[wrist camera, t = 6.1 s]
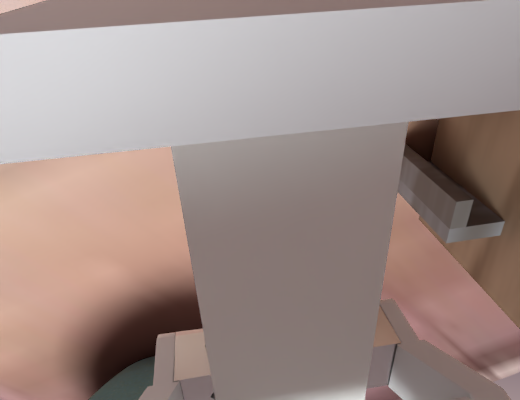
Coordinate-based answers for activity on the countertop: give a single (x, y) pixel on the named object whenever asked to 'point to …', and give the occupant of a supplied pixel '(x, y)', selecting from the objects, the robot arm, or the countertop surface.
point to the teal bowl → (128, 382)
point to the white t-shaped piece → (263, 148)
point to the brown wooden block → (473, 199)
